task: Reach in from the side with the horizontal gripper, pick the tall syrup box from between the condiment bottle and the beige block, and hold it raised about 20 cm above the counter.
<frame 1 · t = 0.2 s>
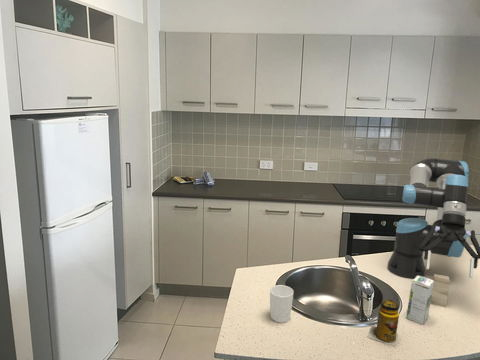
hand: (448, 273, 138), 15 cm above the countertop, tool tilted 35°, fingers open, 13 cm apart
white cup: (280, 317, 135), on the countertop
condiment: (382, 336, 126), on the countertop
syrup box: (417, 318, 136), on the countertop
beige block: (437, 302, 147), on the countertop
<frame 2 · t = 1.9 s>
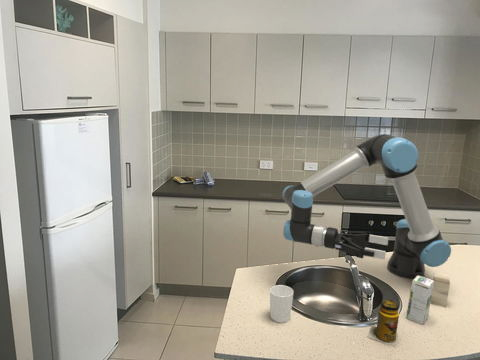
hand: (386, 248, 136), 24 cm above the countertop, tool horizontal, fingers open, 13 cm apart
nothing on the countertop moved.
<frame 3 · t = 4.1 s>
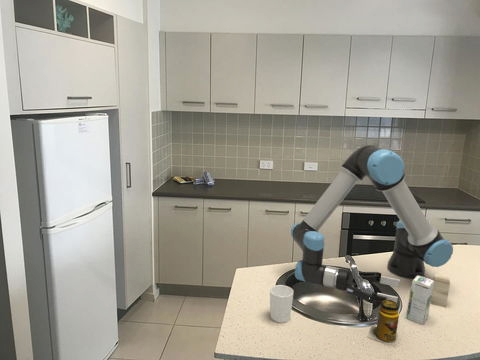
hand: (398, 292, 137), 8 cm above the countertop, tool horizontal, fingers open, 13 cm apart
nothing on the countertop moved.
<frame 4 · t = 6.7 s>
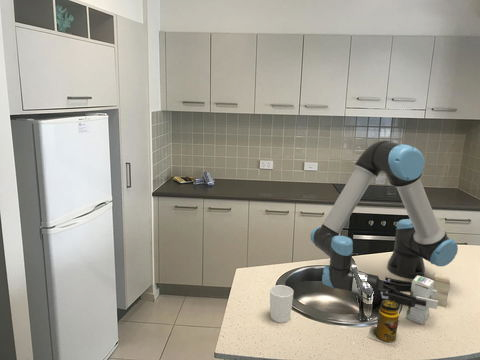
hand: (436, 299, 132), 9 cm above the countertop, tool horizontal, fingers closed on syrup box, 7 cm apart
syrup box: (417, 318, 136), on the countertop, touching gripper
everything else where it was.
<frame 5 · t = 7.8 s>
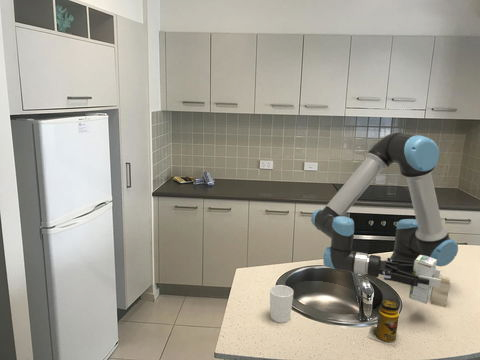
hand: (439, 278, 130), 16 cm above the countertop, tool horizontal, fingers closed on syrup box, 7 cm apart
syrup box: (420, 298, 134), point 8 cm above the countertop, touching gripper
everything else where it was.
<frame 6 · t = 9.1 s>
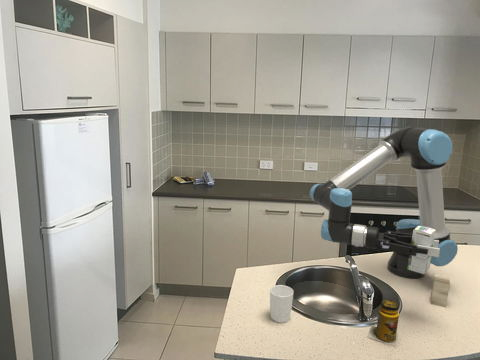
hand: (438, 248, 129), 27 cm above the countertop, tool horizontal, fingers closed on syrup box, 7 cm apart
syrup box: (418, 269, 133), point 18 cm above the countertop, touching gripper
everything else where it was.
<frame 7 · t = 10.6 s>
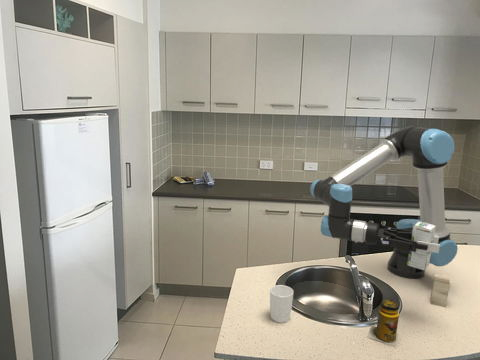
hand: (438, 244, 128), 28 cm above the countertop, tool horizontal, fingers closed on syrup box, 7 cm apart
syrup box: (418, 266, 132), point 19 cm above the countertop, touching gripper
everything else where it was.
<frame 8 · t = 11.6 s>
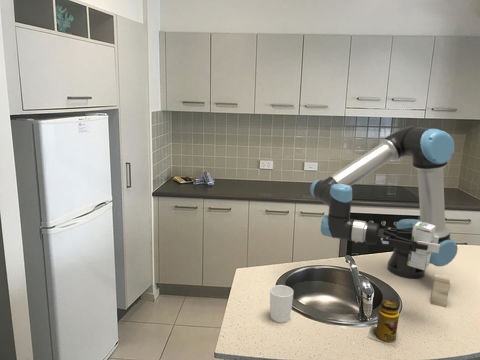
hand: (438, 244, 128), 28 cm above the countertop, tool horizontal, fingers closed on syrup box, 7 cm apart
syrup box: (418, 266, 132), point 19 cm above the countertop, touching gripper
everything else where it was.
at the end: the gripper is holding syrup box; syrup box point 19.2 cm above the countertop; beige block moved 0.0 cm from its start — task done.
